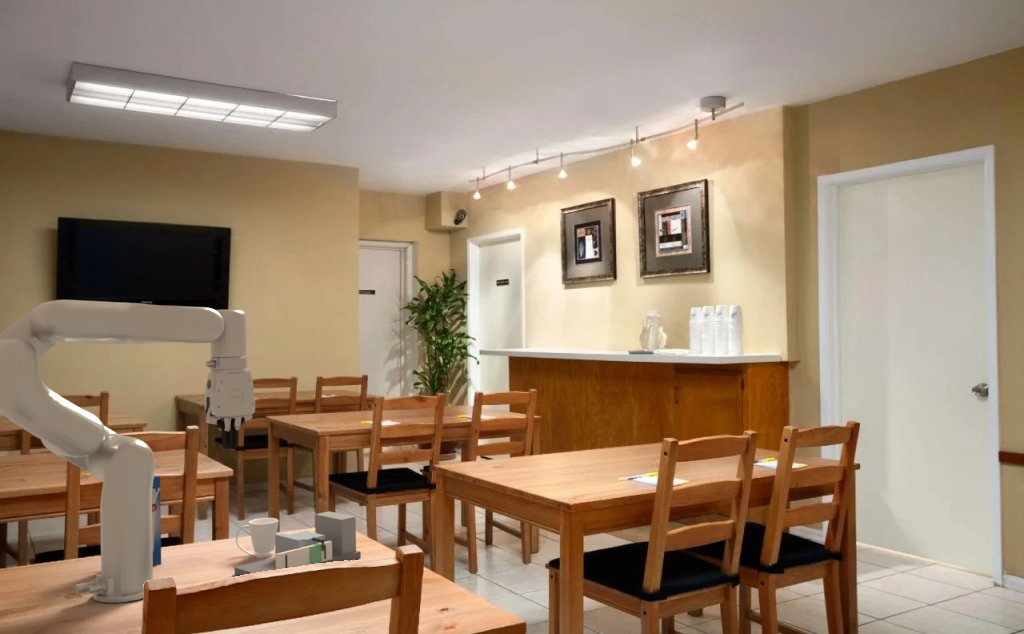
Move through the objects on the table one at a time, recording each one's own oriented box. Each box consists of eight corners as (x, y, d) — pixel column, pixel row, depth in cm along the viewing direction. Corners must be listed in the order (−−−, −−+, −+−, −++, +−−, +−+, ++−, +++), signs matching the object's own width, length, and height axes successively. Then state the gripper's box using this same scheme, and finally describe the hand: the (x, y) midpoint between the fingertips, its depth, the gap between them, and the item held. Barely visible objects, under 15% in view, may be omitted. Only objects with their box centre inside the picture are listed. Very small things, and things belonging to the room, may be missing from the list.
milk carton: (120, 574, 184) (119, 483, 185) (104, 570, 188) (103, 481, 188) (161, 563, 193) (160, 476, 193) (145, 560, 196) (144, 474, 196)
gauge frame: (266, 584, 175) (265, 538, 175) (234, 574, 183) (233, 530, 183) (361, 558, 194) (360, 516, 194) (328, 550, 202) (328, 510, 202)
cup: (275, 558, 195) (274, 523, 195) (231, 559, 195) (231, 524, 195) (282, 550, 202) (282, 517, 202) (240, 552, 202) (240, 518, 202)
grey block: (306, 566, 181) (305, 542, 181) (275, 557, 189) (275, 534, 189) (334, 558, 187) (334, 535, 187) (303, 550, 195) (303, 528, 195)
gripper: (206, 367, 178) (207, 453, 178) (268, 364, 189) (269, 445, 189) (188, 366, 183) (189, 451, 183) (249, 364, 194) (250, 443, 194)
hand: (229, 448), depth 186 cm, fingers closed
